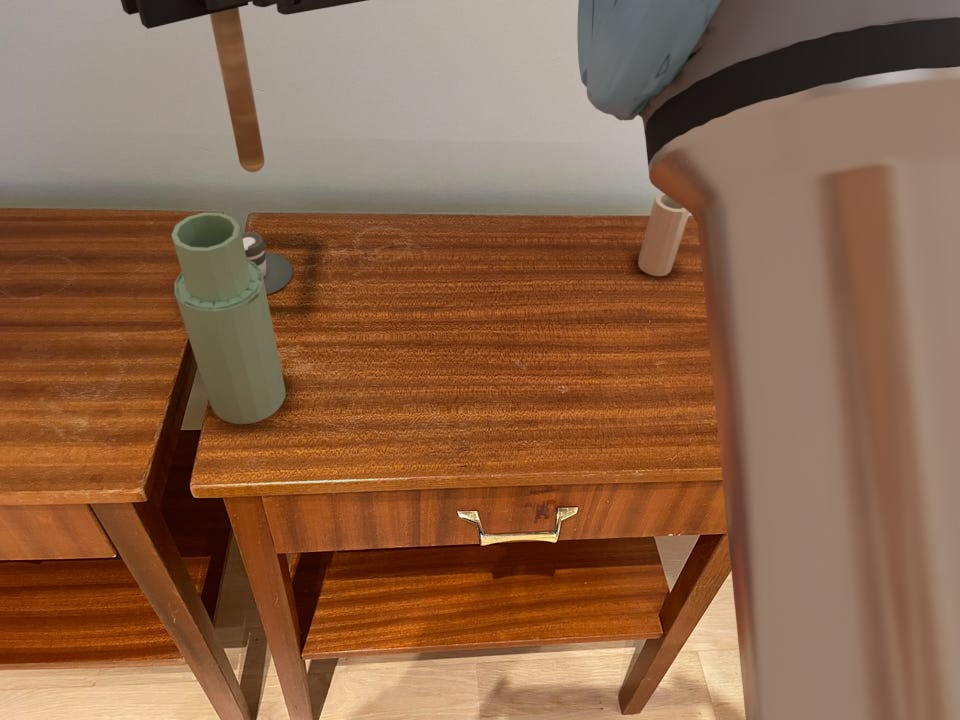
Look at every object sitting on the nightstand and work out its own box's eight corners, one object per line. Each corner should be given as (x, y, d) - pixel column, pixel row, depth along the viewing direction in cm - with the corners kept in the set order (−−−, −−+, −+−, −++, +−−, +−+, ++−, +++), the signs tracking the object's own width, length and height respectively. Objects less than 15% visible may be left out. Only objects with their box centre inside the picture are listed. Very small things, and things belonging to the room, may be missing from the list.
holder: (665, 280, 84) (686, 215, 78) (633, 268, 85) (650, 204, 79) (675, 262, 87) (696, 197, 80) (644, 251, 88) (662, 186, 81)
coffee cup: (314, 243, 85) (310, 207, 82) (303, 312, 77) (297, 276, 73) (209, 241, 84) (200, 205, 81) (186, 312, 76) (174, 275, 72)
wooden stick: (275, 169, 55) (221, -167, 40) (244, 181, 53) (176, -162, 38) (262, 159, 55) (204, -174, 40) (231, 170, 54) (160, -169, 39)
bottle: (253, 435, 65) (209, 270, 52) (194, 405, 67) (137, 239, 54) (300, 387, 70) (271, 222, 56) (244, 360, 72) (202, 195, 58)
